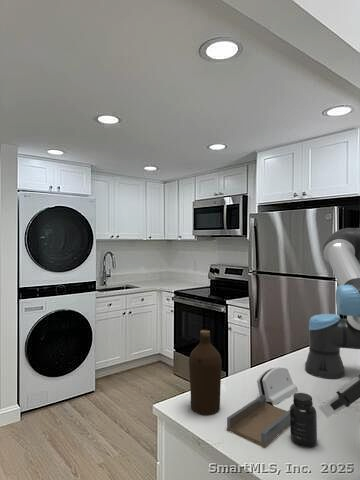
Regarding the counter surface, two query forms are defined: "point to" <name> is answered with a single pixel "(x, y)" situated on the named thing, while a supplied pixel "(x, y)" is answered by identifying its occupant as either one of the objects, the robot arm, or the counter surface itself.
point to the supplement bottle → (303, 421)
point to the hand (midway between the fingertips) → (333, 402)
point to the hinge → (276, 385)
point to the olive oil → (205, 376)
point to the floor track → (259, 421)
